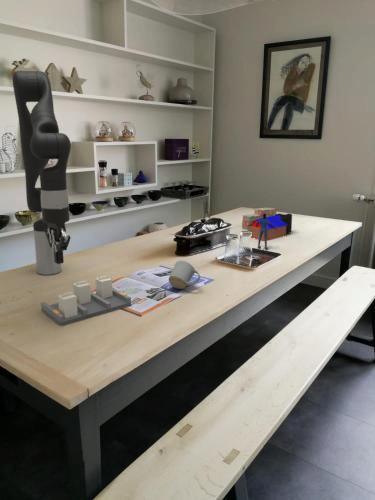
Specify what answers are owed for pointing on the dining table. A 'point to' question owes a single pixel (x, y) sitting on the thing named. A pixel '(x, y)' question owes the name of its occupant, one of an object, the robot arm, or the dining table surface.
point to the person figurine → (263, 230)
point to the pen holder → (287, 221)
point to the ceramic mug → (182, 275)
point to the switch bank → (88, 307)
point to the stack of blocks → (257, 216)
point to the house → (269, 228)
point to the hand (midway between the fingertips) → (59, 262)
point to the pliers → (205, 207)
